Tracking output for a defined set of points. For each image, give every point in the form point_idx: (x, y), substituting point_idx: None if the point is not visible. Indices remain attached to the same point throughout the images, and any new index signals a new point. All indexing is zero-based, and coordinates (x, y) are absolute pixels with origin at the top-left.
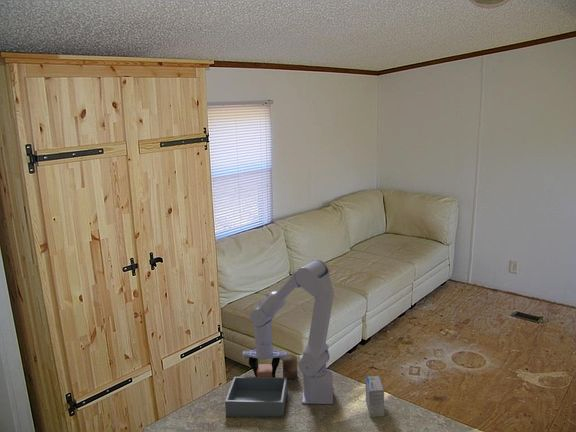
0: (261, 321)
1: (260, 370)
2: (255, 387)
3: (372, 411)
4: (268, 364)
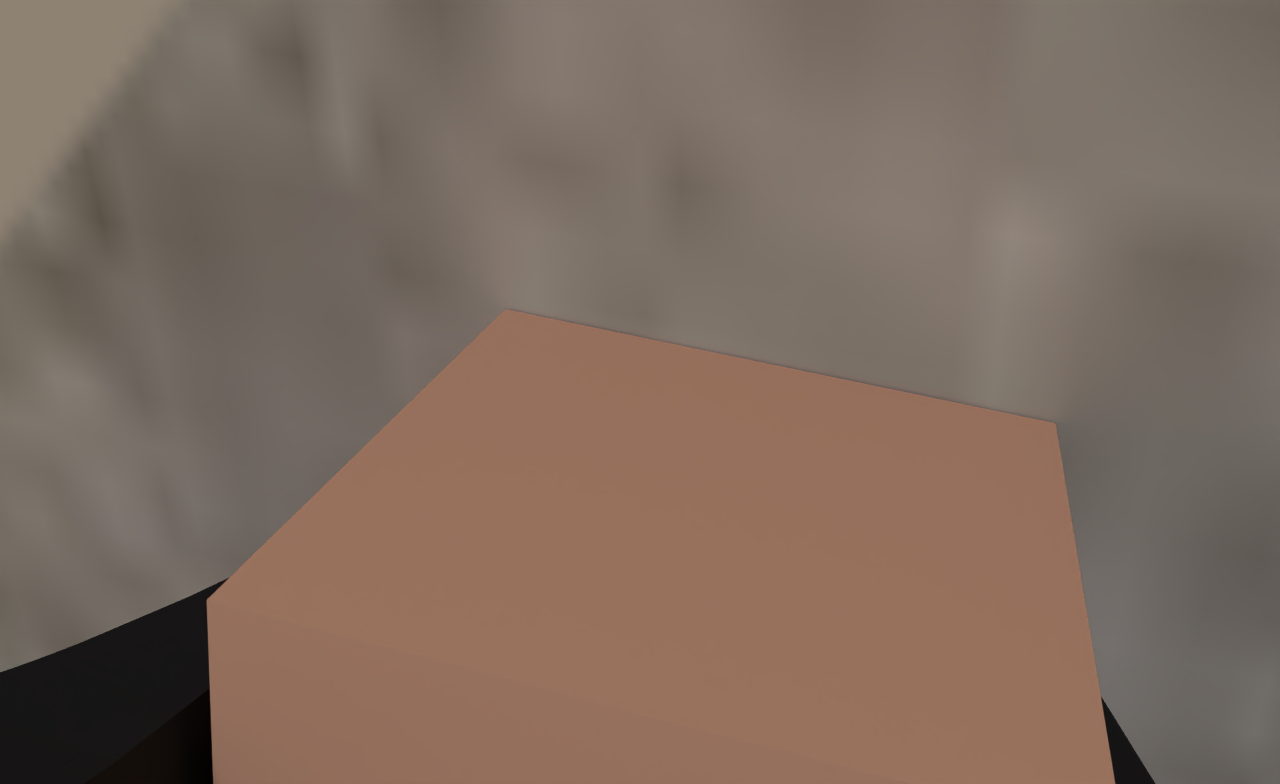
0: None
1: None
2: None
3: None
4: (781, 778)
